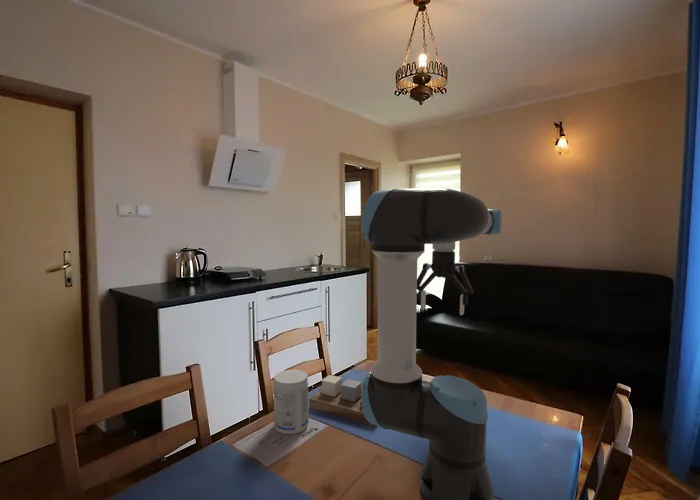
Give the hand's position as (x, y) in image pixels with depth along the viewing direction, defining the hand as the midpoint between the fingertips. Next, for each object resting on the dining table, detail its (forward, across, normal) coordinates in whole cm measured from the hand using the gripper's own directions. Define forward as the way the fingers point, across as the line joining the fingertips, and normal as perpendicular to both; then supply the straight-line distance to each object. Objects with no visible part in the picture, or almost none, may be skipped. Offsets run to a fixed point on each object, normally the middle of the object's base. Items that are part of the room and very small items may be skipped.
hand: (441, 311), depth 125 cm
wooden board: (+27, +20, +27) cm, 43 cm away
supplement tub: (+28, +28, +46) cm, 61 cm away
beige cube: (+24, +27, +28) cm, 46 cm away
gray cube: (+24, +20, +27) cm, 42 cm away
